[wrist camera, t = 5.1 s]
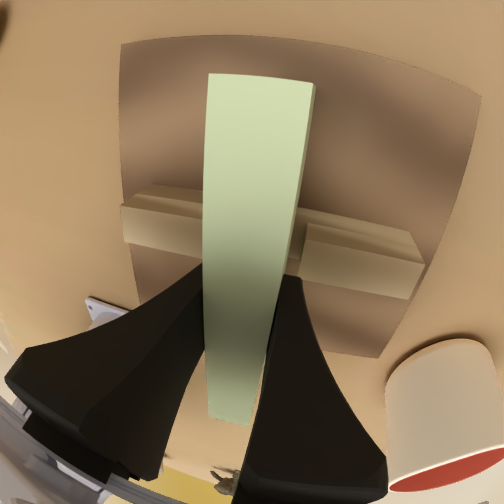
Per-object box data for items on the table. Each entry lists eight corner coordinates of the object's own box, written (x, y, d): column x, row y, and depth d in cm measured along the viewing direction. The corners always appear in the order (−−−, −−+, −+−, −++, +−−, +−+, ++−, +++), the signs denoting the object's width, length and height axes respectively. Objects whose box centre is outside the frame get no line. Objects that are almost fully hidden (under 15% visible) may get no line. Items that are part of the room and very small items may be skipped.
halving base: (377, 348, 19) (380, 392, 16) (146, 298, 22) (121, 333, 18) (472, 94, 9) (515, 102, 6) (131, 45, 12) (83, 42, 9)
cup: (505, 340, 17) (536, 438, 8) (441, 402, 22) (449, 487, 14) (428, 319, 17) (454, 451, 9) (363, 391, 23) (359, 494, 15)
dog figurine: (274, 479, 46) (267, 509, 40) (260, 481, 49) (252, 509, 43) (222, 463, 45) (212, 495, 39) (211, 466, 48) (201, 495, 42)
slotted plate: (273, 327, 18) (248, 426, 12) (242, 321, 18) (208, 416, 13) (316, 86, 10) (313, 83, 5) (268, 79, 11) (208, 73, 5)
